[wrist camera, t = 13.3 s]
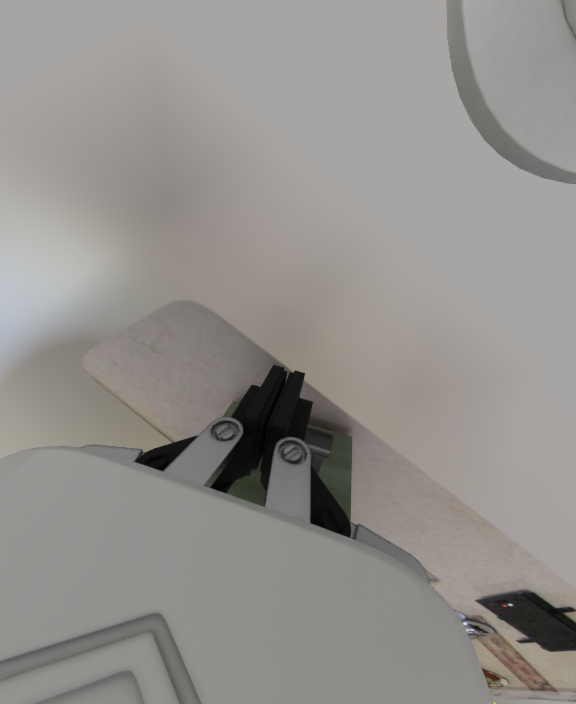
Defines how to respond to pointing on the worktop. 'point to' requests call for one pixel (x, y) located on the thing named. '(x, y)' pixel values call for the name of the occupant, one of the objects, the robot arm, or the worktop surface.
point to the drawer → (326, 459)
